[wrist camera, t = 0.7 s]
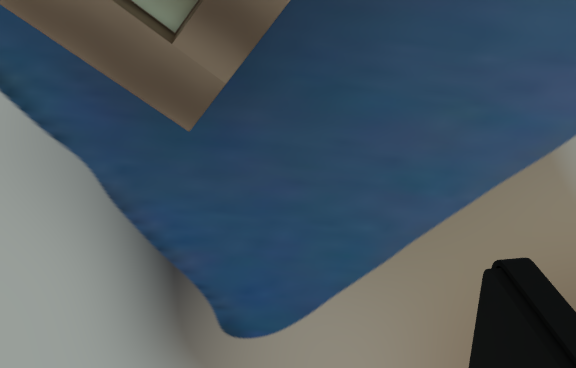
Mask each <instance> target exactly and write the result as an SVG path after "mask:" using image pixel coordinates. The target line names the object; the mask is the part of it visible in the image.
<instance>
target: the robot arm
mask: <svg viewBox="0 0 576 368" xmlns="http://www.w3.org/2000/svg"><path fill="white" fill-rule="evenodd" d="M469 368H576V312H575V311H574V310H573V308H572V307H571V306H570V305H569V304H568V303H567V302H566V300H565V299H564V298H563V297H562V296H561V294H560V293H559V292H558V291H557V290H556V288H555V287H554V286H553V285H552V284H551V282H550V281H549V280H548V279H547V278H546V277H545V275H544V274H543V273H542V272H541V271H540V269H539V268H538V267H537V266H536V265H535V264H534V262H533V261H531V260H530V259H529V258H516V259H505V260H497V261H495V262H494V263H493V265H492V268H491V269H486V270H485V271H484V274H483V278H482V286H481V291H480V298H479V304H478V311H477V317H476V324H475V330H474V337H473V344H472V350H471V356H470V363H469Z"/></svg>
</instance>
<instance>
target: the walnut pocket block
mask: <svg viewBox="0 0 576 368" xmlns="http://www.w3.org/2000/svg"><path fill="white" fill-rule="evenodd" d="M289 1H290V0H0V5H2V6H3V7H5V8H6V9H8V10H9V11H11V12H12V13H14V14H15V15H17V16H18V17H20V18H21V19H23V20H24V21H26V22H27V23H29V24H30V25H32V26H33V27H35V28H36V29H38V30H39V31H41V32H42V33H43V34H45V35H46V36H48V37H49V38H51V39H52V40H54V41H55V42H57V43H58V44H60V45H61V46H63V47H64V48H66V49H67V50H69V51H70V52H72V53H73V54H75V55H76V56H78V57H79V58H81V59H82V60H84V61H85V62H86V63H88V64H89V65H91V66H92V67H94V68H95V69H97V70H98V71H100V72H101V73H103V74H104V75H106V76H107V77H109V78H110V79H112V80H113V81H115V82H116V83H118V84H119V85H121V86H122V87H124V88H125V89H127V90H128V91H130V92H131V93H132V94H134V95H135V96H137V97H138V98H140V99H141V100H143V101H144V102H146V103H147V104H149V105H150V106H152V107H153V108H155V109H156V110H158V111H159V112H161V113H162V114H164V115H165V116H167V117H168V118H170V119H171V120H173V121H174V122H175V123H177V124H178V125H180V126H181V127H183V128H184V129H186V130H187V131H190V130H191V129H192V128H193V126H194V125H195V124H196V122H197V121H198V120H199V118H200V117H201V116H202V115H203V113H204V112H205V111H206V109H207V108H208V107H209V105H210V104H211V103H212V102H213V100H214V99H215V98H216V96H217V95H218V94H219V92H220V91H221V90H222V89H223V87H224V86H225V85H226V83H227V82H228V81H229V79H230V78H231V77H232V76H233V74H234V73H235V72H236V70H237V69H238V68H239V66H240V65H241V64H242V63H243V61H244V60H245V59H246V57H247V56H248V55H249V53H250V52H251V51H252V50H253V48H254V47H255V46H256V44H257V43H258V42H259V40H260V39H261V38H262V37H263V35H264V34H265V33H266V31H267V30H268V29H269V27H270V26H271V25H272V23H273V22H274V21H275V20H276V18H277V17H278V16H279V14H280V13H281V12H282V10H283V9H284V8H285V7H286V5H287V4H288V3H289Z"/></svg>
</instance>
